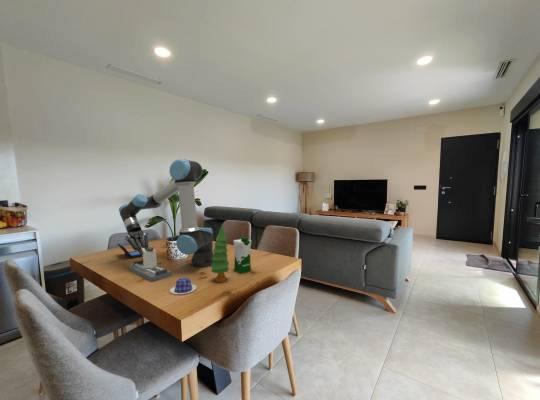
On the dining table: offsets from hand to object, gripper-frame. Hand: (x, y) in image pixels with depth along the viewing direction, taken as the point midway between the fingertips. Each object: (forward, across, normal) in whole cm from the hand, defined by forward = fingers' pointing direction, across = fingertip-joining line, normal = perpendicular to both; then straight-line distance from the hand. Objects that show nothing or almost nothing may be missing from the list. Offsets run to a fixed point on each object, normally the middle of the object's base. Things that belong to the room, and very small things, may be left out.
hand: (146, 258), depth 140 cm
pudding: (+32, 0, +20) cm, 38 cm away
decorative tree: (+35, -19, +23) cm, 46 cm away
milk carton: (+34, -37, +22) cm, 55 cm away
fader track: (+7, -1, -4) cm, 8 cm away
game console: (-24, -9, -36) cm, 44 cm away
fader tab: (+6, -1, -2) cm, 6 cm away
